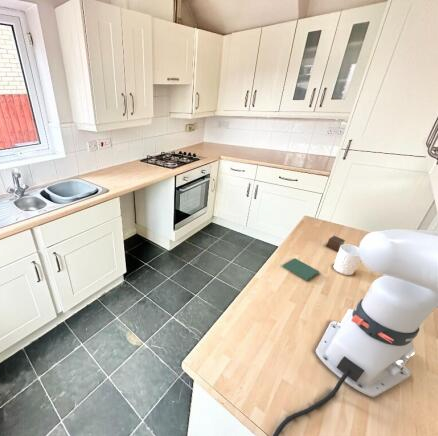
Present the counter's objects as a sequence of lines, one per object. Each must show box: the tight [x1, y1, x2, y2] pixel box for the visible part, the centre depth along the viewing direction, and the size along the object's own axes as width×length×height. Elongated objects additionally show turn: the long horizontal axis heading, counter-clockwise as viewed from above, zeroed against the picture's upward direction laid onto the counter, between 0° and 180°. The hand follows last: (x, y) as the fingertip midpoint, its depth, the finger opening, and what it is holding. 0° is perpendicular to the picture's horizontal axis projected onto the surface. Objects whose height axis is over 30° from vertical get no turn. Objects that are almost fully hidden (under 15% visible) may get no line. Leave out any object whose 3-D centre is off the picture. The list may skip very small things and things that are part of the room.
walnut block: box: [325, 235, 346, 252], centre depth 111 cm, size 4×4×4 cm
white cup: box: [333, 243, 362, 276], centre depth 97 cm, size 8×8×10 cm
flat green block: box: [282, 258, 320, 282], centre depth 99 cm, size 8×10×1 cm
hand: (435, 271), depth 76 cm, fingers closed
